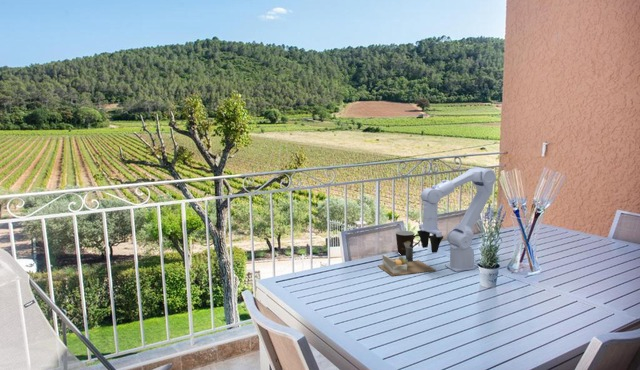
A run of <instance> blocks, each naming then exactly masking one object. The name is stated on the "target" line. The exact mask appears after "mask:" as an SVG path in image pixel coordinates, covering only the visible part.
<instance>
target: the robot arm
mask: <svg viewBox="0 0 640 370" xmlns="http://www.w3.org/2000/svg"><path fill="white" fill-rule="evenodd" d="M496 176H497V175H496V172H495V171H494V170H493V169H492V168H483V167H479V166H473V167H472V168H469V169H468V170H467V171H465V172H464V173H463V172H462V174H460V175H459V176H456V177H454V178H452V179H451V180H449V179H442V180H441V182H439V183H437V184H433V185H431V187H426V188H424V189H423V190H422V191H421V194H420V195H419V196H420V198H421V201H422V205H423V207H422V208H423V209H422V223H421V224H419V225H418V229H419V230H417V232H416V233H417V235H419V236H418V237H419V240H420V239H421V241H420V242H421V246H422V248H423V249H424V248H428V247H429V241H430V247H431V253H433V254H435V253H438V251H439V246H440V244H441V242H442V241H443V239H444V236H443V235H442V233H443V232H442V231H441V230H440V229H439V228H438V210H439V209H438V208H439V207H438V203H439V202H440V201H441V199H442V198H445V197H446V196H449V195H450V194H452V193H453V192H455V188H456V189H457V188H458V187H461V186H463V185H465V184H467V183H470V182H472V183H473V185H474V187H475V188H476V192H475V195H474V196H473V198H472V200H471V202H470V204H469V206H468V207H467V209H466V211H465V214H464V215H463V217H462V219H461V221H460V222H459V223H458V224H456V225H454V226H453V228H452V229H451V230H450V231H449V232H448V234H447V236H446V239H447V242H448V243H449V263H448V264H445V267H447V268H448V269H450V270H451V271H454V272H461V271H463V272H464V271H470V270H475V269H476V267H475V252H474V251H475V250H474V249H473V248H472V247H471V246H472V244H473V238H474V236H475V235H474V231H473V229H474V227H475V225H476V223H477V221H478V219H479V217H480V215H481V214H482V213H483V210H484V208H485V207H486V204H487V202H488V201H489V199H490V197H491V195H492V194H493V188H494V184H495V182H496V181H497V177H496Z"/></svg>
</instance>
